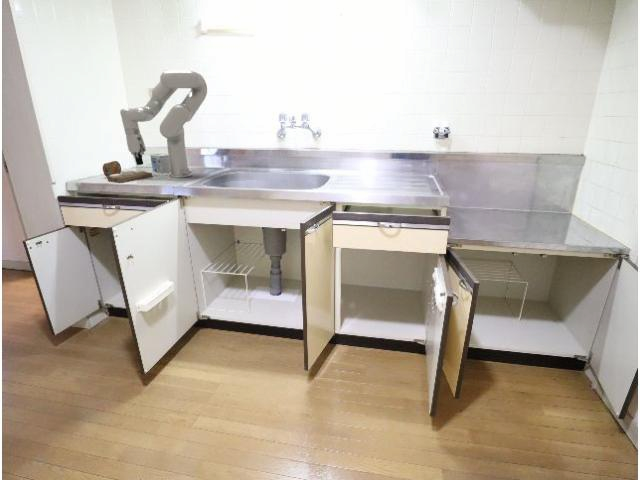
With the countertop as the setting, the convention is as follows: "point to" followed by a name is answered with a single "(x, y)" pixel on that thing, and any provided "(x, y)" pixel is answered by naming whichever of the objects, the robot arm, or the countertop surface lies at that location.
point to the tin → (111, 168)
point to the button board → (130, 177)
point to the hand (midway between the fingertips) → (140, 164)
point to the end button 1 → (115, 175)
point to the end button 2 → (138, 171)
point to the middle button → (127, 172)
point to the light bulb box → (160, 163)
